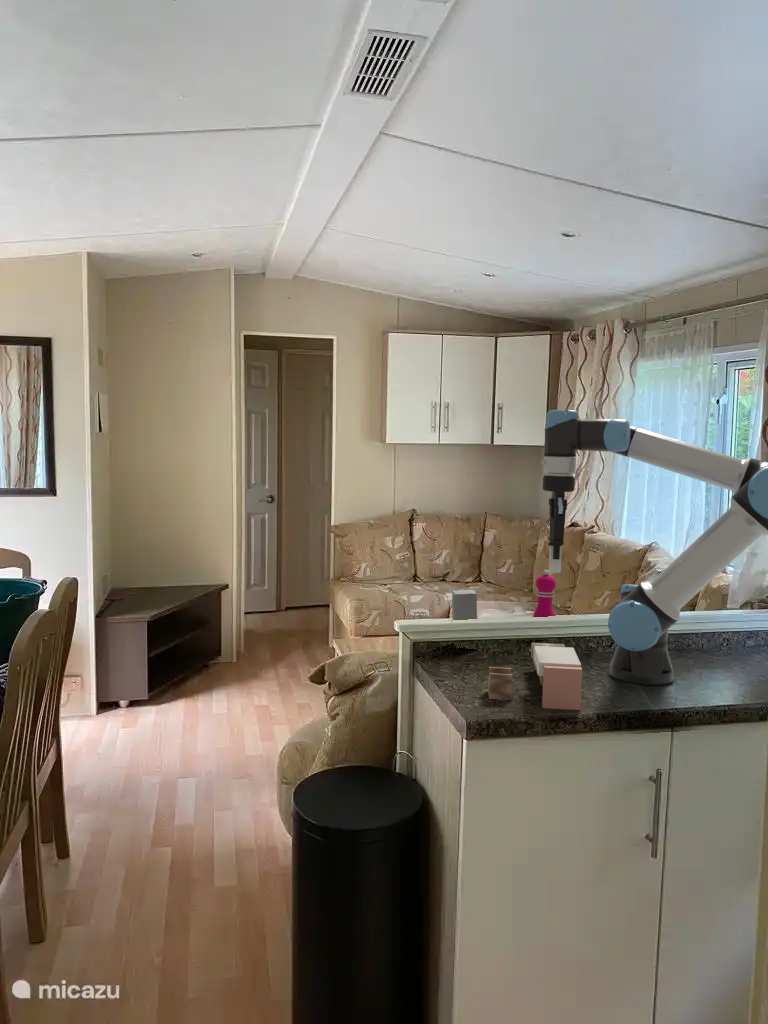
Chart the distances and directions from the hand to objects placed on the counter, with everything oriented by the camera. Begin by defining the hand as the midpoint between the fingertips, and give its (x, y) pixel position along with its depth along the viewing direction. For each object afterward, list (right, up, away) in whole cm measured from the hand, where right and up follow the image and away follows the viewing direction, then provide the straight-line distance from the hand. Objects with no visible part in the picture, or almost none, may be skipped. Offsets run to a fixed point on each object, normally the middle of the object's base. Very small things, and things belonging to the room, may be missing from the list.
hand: (554, 572), depth 196 cm
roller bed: (-1, -27, -4) cm, 27 cm away
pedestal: (-15, -27, -12) cm, 34 cm away
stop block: (-3, -28, -20) cm, 34 cm away
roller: (-2, -24, -12) cm, 27 cm away
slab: (-2, -21, -13) cm, 24 cm away
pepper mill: (+7, -23, +48) cm, 53 cm away
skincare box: (-19, -24, +32) cm, 44 cm away
